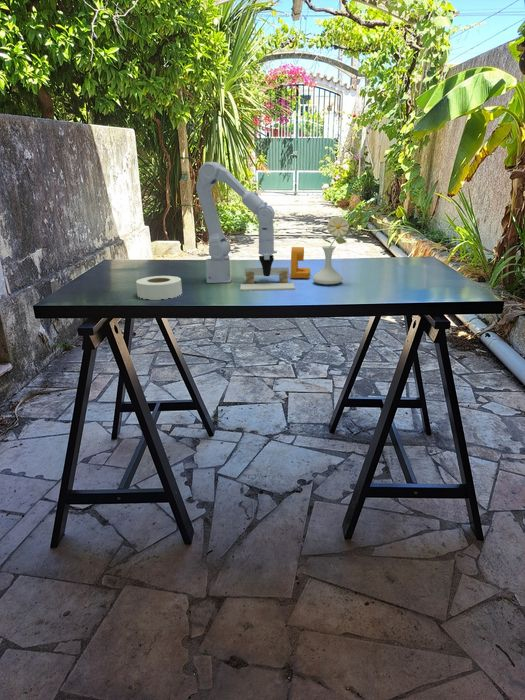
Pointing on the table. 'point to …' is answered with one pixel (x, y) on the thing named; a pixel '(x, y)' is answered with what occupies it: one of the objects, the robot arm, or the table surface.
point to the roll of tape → (159, 287)
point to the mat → (267, 286)
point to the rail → (260, 271)
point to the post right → (283, 277)
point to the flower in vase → (337, 229)
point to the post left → (249, 278)
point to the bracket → (296, 256)
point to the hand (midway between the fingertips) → (266, 275)
